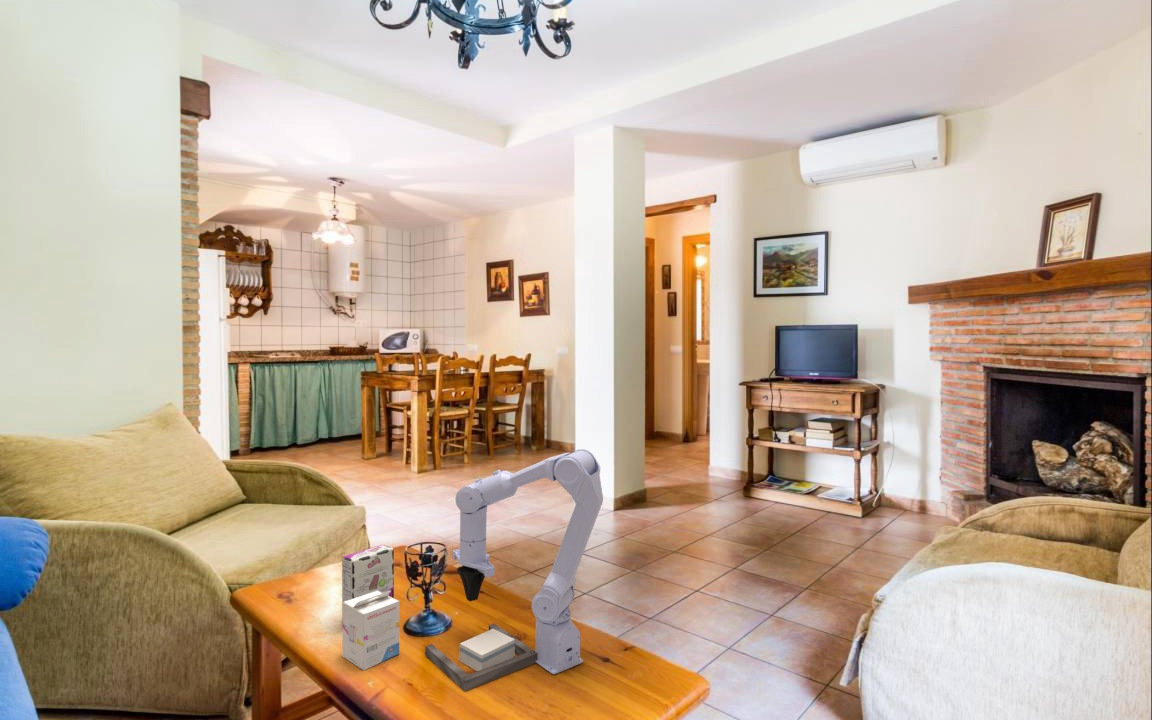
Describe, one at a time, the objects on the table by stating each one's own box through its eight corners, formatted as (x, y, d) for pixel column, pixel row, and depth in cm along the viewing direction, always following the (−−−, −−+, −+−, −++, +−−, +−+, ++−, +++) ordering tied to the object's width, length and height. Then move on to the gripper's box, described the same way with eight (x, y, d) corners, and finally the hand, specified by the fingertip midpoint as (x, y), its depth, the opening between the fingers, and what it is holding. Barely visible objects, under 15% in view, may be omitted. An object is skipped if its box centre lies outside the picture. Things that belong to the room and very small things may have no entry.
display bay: (537, 662, 126) (537, 653, 126) (464, 691, 115) (465, 680, 115) (494, 632, 139) (494, 623, 139) (425, 655, 128) (425, 645, 128)
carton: (515, 658, 128) (515, 639, 128) (481, 675, 121) (481, 655, 121) (492, 646, 133) (492, 628, 133) (459, 662, 126) (459, 643, 126)
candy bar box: (382, 609, 149) (382, 543, 149) (394, 615, 146) (395, 548, 146) (340, 626, 140) (341, 555, 140) (352, 632, 137) (353, 560, 137)
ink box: (377, 641, 133) (378, 581, 133) (400, 654, 128) (401, 591, 128) (341, 657, 127) (341, 593, 126) (363, 671, 121) (364, 605, 121)
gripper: (507, 543, 131) (506, 605, 131) (471, 527, 142) (470, 584, 142) (478, 550, 126) (477, 614, 126) (444, 532, 137) (443, 592, 137)
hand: (472, 599), depth 134 cm, fingers closed
